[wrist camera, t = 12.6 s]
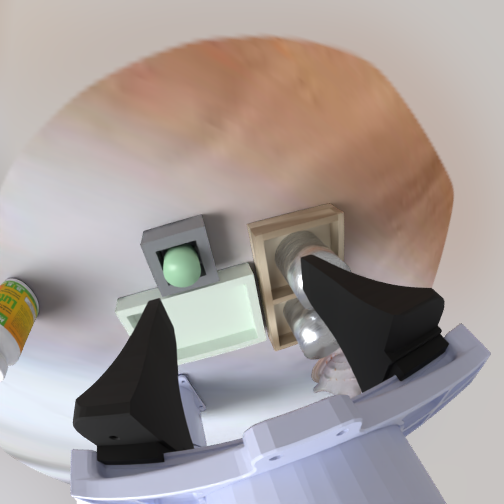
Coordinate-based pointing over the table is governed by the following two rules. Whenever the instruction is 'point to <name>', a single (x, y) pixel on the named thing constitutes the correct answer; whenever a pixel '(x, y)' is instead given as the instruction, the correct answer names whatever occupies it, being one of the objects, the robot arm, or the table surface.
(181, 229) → the frame
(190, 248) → the button
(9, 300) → the supplement bottle
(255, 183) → the table surface
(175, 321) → the pale green tray
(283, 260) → the cylinder
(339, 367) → the seashell
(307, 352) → the billet
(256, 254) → the divided tray
